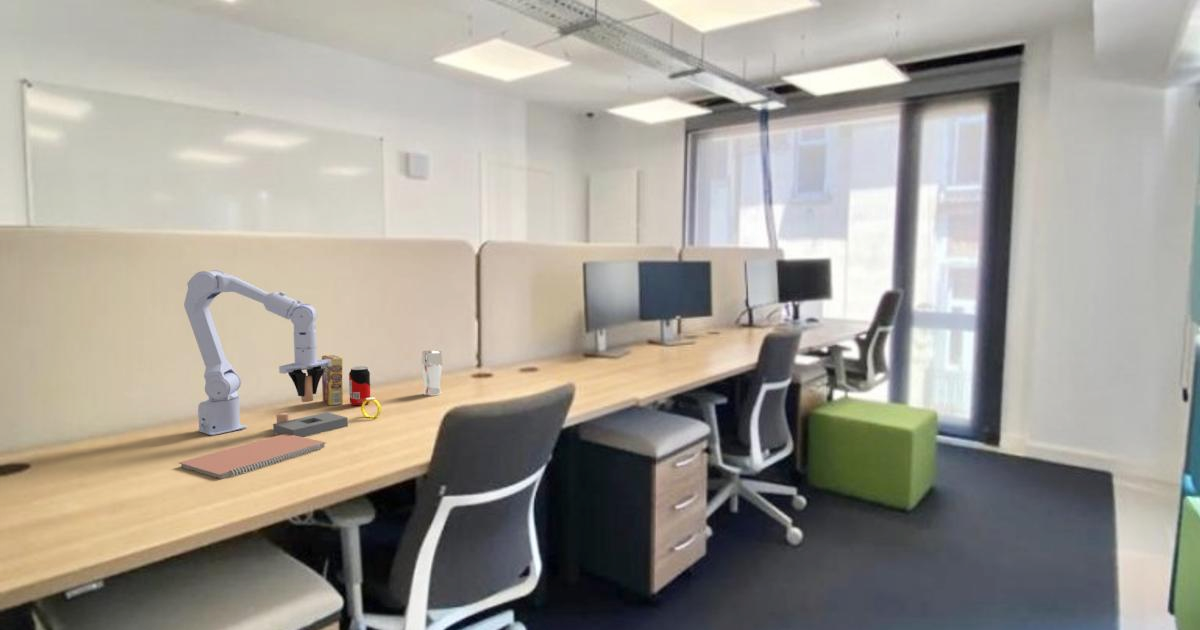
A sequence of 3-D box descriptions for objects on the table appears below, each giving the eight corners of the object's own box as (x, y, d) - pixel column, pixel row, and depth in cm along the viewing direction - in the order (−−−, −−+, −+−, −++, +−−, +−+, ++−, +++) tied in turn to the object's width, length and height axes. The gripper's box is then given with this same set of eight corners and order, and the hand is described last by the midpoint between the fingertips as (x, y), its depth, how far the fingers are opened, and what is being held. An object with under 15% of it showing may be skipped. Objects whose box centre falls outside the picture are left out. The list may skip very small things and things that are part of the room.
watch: (360, 418, 191) (358, 399, 190) (365, 416, 193) (364, 397, 193) (378, 418, 189) (376, 399, 189) (383, 416, 192) (381, 397, 191)
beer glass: (446, 393, 224) (446, 351, 223) (431, 397, 218) (431, 354, 217) (432, 391, 228) (432, 349, 227) (417, 394, 222) (417, 352, 221)
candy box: (344, 404, 207) (342, 357, 206) (330, 406, 205) (328, 359, 203) (335, 399, 214) (334, 354, 213) (322, 400, 211) (320, 355, 210)
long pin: (305, 402, 179) (304, 377, 178) (299, 401, 181) (298, 376, 180) (315, 400, 181) (314, 376, 181) (309, 399, 183) (308, 375, 182)
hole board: (293, 439, 168) (293, 430, 168) (273, 432, 174) (273, 423, 174) (347, 426, 181) (347, 417, 181) (327, 420, 187) (327, 412, 187)
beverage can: (366, 406, 204) (365, 369, 203) (346, 406, 204) (345, 369, 203) (373, 402, 211) (372, 366, 209) (354, 401, 211) (353, 366, 210)
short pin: (280, 430, 177) (280, 416, 176) (274, 428, 178) (274, 414, 178) (291, 428, 179) (290, 414, 179) (285, 426, 181) (284, 412, 180)
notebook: (222, 483, 138) (222, 474, 138) (178, 469, 146) (178, 461, 146) (329, 449, 162) (328, 441, 162) (286, 439, 170) (285, 432, 170)
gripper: (288, 351, 171) (290, 401, 173) (337, 345, 183) (338, 391, 184) (274, 349, 175) (276, 397, 176) (322, 343, 187) (324, 388, 188)
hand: (307, 394), depth 181 cm, fingers closed on long pin, 3 cm apart
